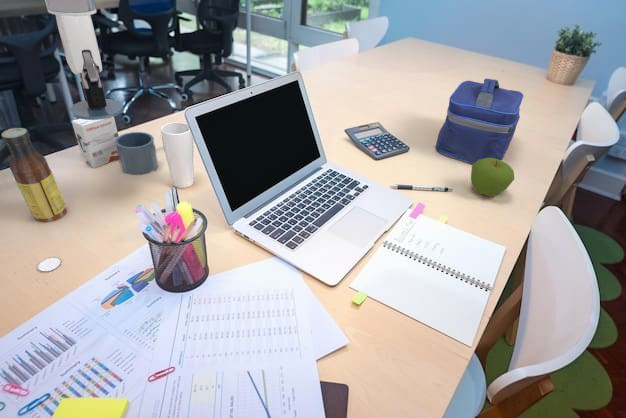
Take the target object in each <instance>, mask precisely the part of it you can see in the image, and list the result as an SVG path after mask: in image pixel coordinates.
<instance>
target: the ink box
mask: <svg viewBox="0 0 626 418" xmlns="http://www.w3.org/2000/svg"><path fill="white" fill-rule="evenodd" d="M71 124H72V128H73V131H74V135H75V138H76V141H77V144H78V147H79V151H80V154H81V157H82V158H83V159H85V160H86V161H84V163H85V164H86V165H88V166H89V167H91V168H93V169H96V168H98V167H101V166H104V165H106V164H109V163H111V162H114V161H116V160H119V157H118V153H117V149H116V144H115V140H116V138H118V137H119V136H120V135H119V132H118V129H117V128H118V127H117V125H116V124H117V123H116V120H115V116H114V117H110V118H106V119H100V120H85V119H79V118H76V119H74V120H71ZM116 154H117V155H116Z"/></svg>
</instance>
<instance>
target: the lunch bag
mask: <svg viewBox="0 0 626 418" xmlns="http://www.w3.org/2000/svg"><path fill="white" fill-rule="evenodd" d="M523 100H524V94H523V93H522V91H518V90H513V89H506V88H502V87H500V83H499V80H498V79H492V78H485V79H483V83H482V82H477V81H473V80H465V81H462V82H461V83H459V84H458V86H457V87H456V88H455V90H454V91H453V92H452V94H450V96H449V100H448V106H447V109H446V116H445V120H444V122H443V124H442V126H441V127H440V130H439V132H438V134H437V139H436V144H435V146H434V148H435V150H436V151H437V152H439V153H440V154H442V155H444V156H446V157H450V158H452V159H455V160H459V161H463V162H466V163H469V164H472V165H474V163H475V162H476V161H478V160H480V159H485V158H495V159H498V160H501V161H503V159H504V157H505V155H506V154H507V151H508V149H509V147H510V145H511V143H512V140H513V138H514V135H515V132H516V128H517V127H518V126H517V125H518V123H519V120H520V118H521V117H520V107H521V105H522V101H523Z"/></svg>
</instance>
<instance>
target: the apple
mask: <svg viewBox="0 0 626 418" xmlns="http://www.w3.org/2000/svg"><path fill="white" fill-rule="evenodd" d="M470 181H471V187H472V188H473V189H474V190H475V191H476V192H477V193H478V194H480V195H481V196H485V197H496V196H499V195H500V194H502V193H503V192H505V191H506V190H507V189H508V188H509V186H510V185H511V184H512V183H513V182H514V181H515V172H514V169H513V168H512V167H511V166H510V165H509V164H508V163H507V162H505V161H503V160H498V159H495V158H485V159H480V160H478V161H476V162H475V163H474V164H472V165H471V171H470Z"/></svg>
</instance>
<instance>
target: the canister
mask: <svg viewBox="0 0 626 418" xmlns="http://www.w3.org/2000/svg"><path fill="white" fill-rule="evenodd" d="M115 144H116V149H117V153H116V154H117V155H118V157H119V159H118V161H119V165H120V169H121V171H122V173H123V174H128V175H134V176H135V175H145V174H150V173H151V172H153V171H154V172H156V171H157V170H158V169H159V159H158V155H157V149H156V143H155V137H154V136H153V135H152V134H151V133H148V132H143V131H131V132H126V133H124V134H123V133H122V134H121V135H119V137H118V138H116V140H115Z"/></svg>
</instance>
